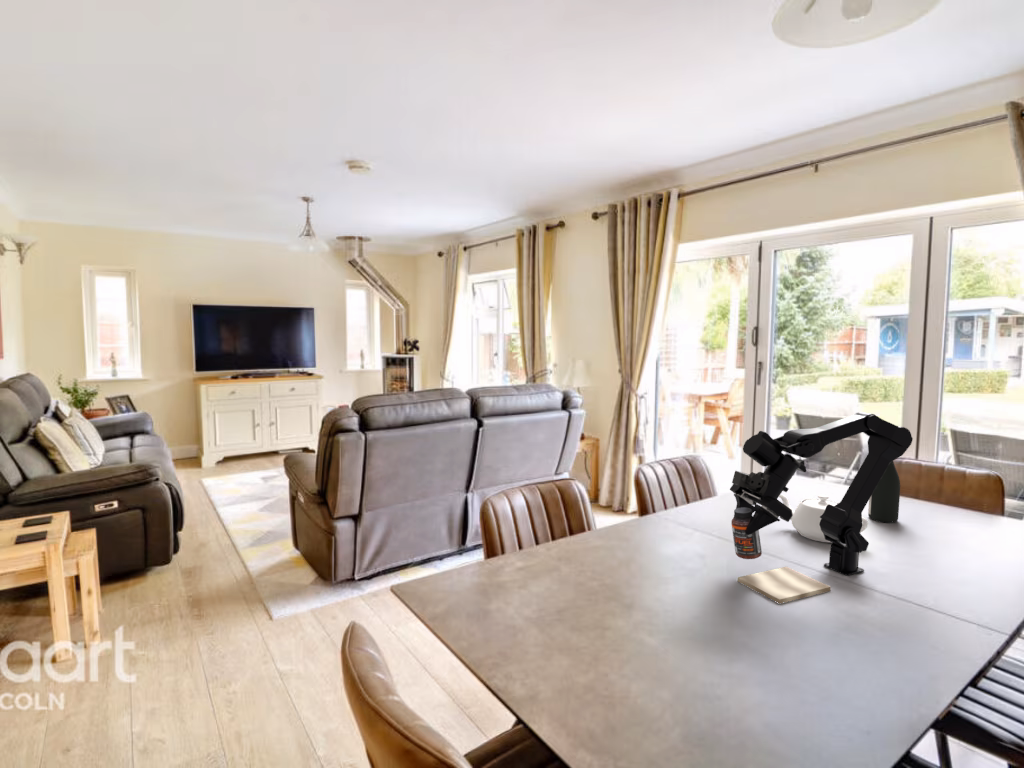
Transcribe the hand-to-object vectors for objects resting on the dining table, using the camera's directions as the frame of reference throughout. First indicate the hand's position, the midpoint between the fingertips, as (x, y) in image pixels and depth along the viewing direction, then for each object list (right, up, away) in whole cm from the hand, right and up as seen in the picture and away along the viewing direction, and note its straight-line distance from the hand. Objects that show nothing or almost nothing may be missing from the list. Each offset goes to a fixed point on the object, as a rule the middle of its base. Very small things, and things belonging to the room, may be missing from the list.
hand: (739, 529), depth 133 cm
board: (+8, -12, -4) cm, 15 cm away
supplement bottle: (+2, -6, +1) cm, 7 cm away
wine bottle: (+63, -8, +43) cm, 77 cm away
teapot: (+35, -10, +29) cm, 46 cm away
